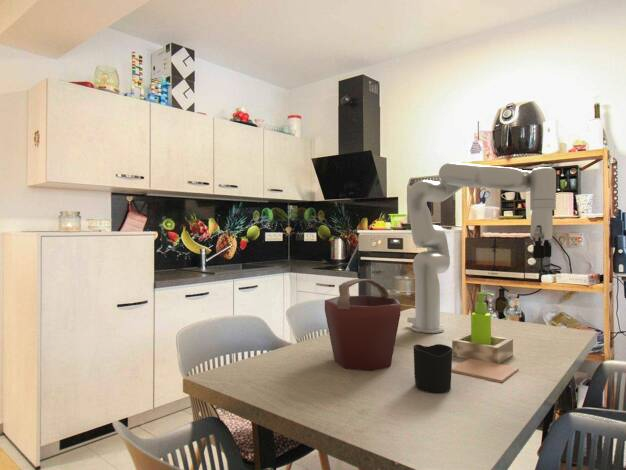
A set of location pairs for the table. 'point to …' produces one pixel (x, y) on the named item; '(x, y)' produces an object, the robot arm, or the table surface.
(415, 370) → the pen holder
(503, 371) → the plate
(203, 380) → the table surface
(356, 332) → the bucket
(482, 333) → the soap dispenser
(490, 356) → the open box
